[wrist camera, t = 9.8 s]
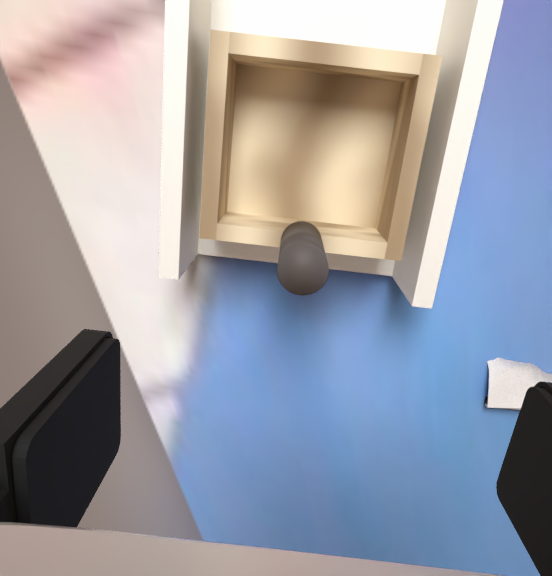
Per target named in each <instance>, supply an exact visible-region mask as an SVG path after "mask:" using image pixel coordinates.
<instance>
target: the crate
mask: <svg viewBox="0 0 552 576" xmlns="http://www.w3.org/2000/svg"><path fill="white" fill-rule="evenodd" d="M442 57H443V56H440V55H431V54H422V53H414V52H405V51H396V50H387V49H378V48H369V47H361V46H352V45H343V44H334V43H325V42H316V41H307V40H299V39H290V38H281V37H272V36H263V35H254V34H245V33H237V32H228V31H219V30H210V46H209V65H208V84H207V102H206V121H205V139H204V158H203V176H202V195H201V213H200V232H199V238H201V239H210V240H219V241H227V242H236V243H245V244H254V245H263V246H272V247H280V250H279V259H278V267H277V274H278V278H279V281H280V283H281V284H282V286H283V287H284V288H285V289H286V290H288V291H289V292H291V293H293V294H297V295H309V294H312V293H315V292H316V291H318V290H319V289H321V288H322V287H323V286H324V284H325V283H326V281H327V278H328V275H329V266H328V262H327V258H326V254H325V253H333V254H342V255H351V256H360V257H369V258H378V259H386V260H395V261H401V259H402V255H403V250H404V245H405V240H406V235H407V230H408V225H409V220H410V215H411V210H412V205H413V200H414V195H415V190H416V185H417V180H418V175H419V170H420V165H421V160H422V156H423V151H424V146H425V141H426V136H427V131H428V126H429V121H430V116H431V111H432V106H433V101H434V96H435V91H436V86H437V81H438V76H439V71H440V66H441V61H442Z"/></svg>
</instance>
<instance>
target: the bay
mask: <svg viewBox="0 0 552 576" xmlns="http://www.w3.org/2000/svg"><path fill="white" fill-rule="evenodd" d="M502 5H503V0H165V33H164V72H163V112H162V151H161V190H160V230H159V269H158V277H159V278H168V279H177V280H178V279H179V278H180V277H181V276H182V274H183V273H184V272H185V270H186V269H187V268H188V266H189V265H190V264H191V263H192V261H193V260H194V259H195V257H196V256H197V255H198V254H201V255H210V256H219V257H228V258H237V259H245V260H254V261H263V262H272V263H278V259H279V250H280V247H272V246H263V245H254V244H245V243H236V242H227V241H219V240H210V239H201V238H199V232H200V213H201V195H202V176H203V158H204V139H205V121H206V102H207V84H208V65H209V46H210V30H219V31H228V32H237V33H245V34H254V35H263V36H272V37H281V38H290V39H299V40H307V41H316V42H325V43H334V44H343V45H352V46H361V47H369V48H378V49H387V50H396V51H405V52H414V53H422V54H431V55H440V56H443V57H442V61H441V66H440V71H439V76H438V81H437V86H436V91H435V96H434V101H433V106H432V111H431V116H430V121H429V126H428V131H427V136H426V141H425V146H424V151H423V156H422V160H421V165H420V170H419V175H418V180H417V185H416V190H415V195H414V200H413V205H412V210H411V215H410V220H409V225H408V230H407V235H406V240H405V245H404V250H403V255H402V259H401V261H395V260H386V259H378V258H369V257H360V256H351V255H342V254H333V253H325V254H326V258H327V262H328V266H329V269H334V270H343V271H351V272H360V273H369V274H378V275H387V276H392V277H393V279H394V280H395V282H396V283H397V285H398V286H399V288H400V289H401V291H402V292H403V294H404V295H405V297H406V298H407V300H408V301H409V303H410V304H411V306H415V307H424V308H432V306H433V302H434V297H435V293H436V289H437V284H438V280H439V276H440V271H441V267H442V263H443V259H444V254H445V250H446V246H447V241H448V237H449V233H450V228H451V224H452V220H453V215H454V211H455V207H456V203H457V198H458V194H459V190H460V185H461V181H462V177H463V172H464V168H465V164H466V160H467V155H468V151H469V147H470V142H471V138H472V134H473V129H474V125H475V121H476V117H477V112H478V108H479V104H480V99H481V95H482V91H483V86H484V82H485V78H486V73H487V69H488V65H489V61H490V56H491V52H492V48H493V43H494V39H495V35H496V30H497V26H498V22H499V18H500V13H501V9H502Z"/></svg>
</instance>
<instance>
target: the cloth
mask: <svg viewBox="0 0 552 576" xmlns="http://www.w3.org/2000/svg"><path fill="white" fill-rule="evenodd" d="M487 363H488V368H489V386H488V396H487V397H486V399H485V402H484V405H485V406H486V407H488V408H505V409H512V410H519V411H520V410H521V406H522V403H523V400H524V397H525V394H526V392H527V390H528V389H529V388H530V387H534V386H535V385H536V384H537V383H538V382H540V381H542V382H551V383H552V374H549V373H545V372H543V371H542V370H541V369H539V368H538V367H536V366H535V365H533V364H530V363H522V362H516V361H511V360H505V359H502V358H499V357H498V358H496V359H495V360H491V361H487Z"/></svg>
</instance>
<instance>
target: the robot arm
mask: <svg viewBox="0 0 552 576" xmlns="http://www.w3.org/2000/svg"><path fill="white" fill-rule="evenodd" d="M120 426H121V425H120V342H119V340H118V339H113V337H112V334H111V333H110V332H106V331H97V330H89V329H88V330H87V329H84V330H82V331H81V332H80V333H79V334H78V335H77V336H76V337H75V338H74V339H73V340H72V341H71V342H70V343H69V344H68V345H67V346H66V347H65V348H63V349H62V350H61V351H60V352H59V353H58V354H57V355H56V356H55V357H54V358H53V359H52V360H51V361H50V362H49V363H48V364H47V365H46V366H45V367H43V368H42V369H41V370H40V371H39V372H38V373H37V374H36V375H35V376H34V377H33V378H32V379H31V380H30V381H29V382H28V383H27V384H26V385H25V386H24V387H23V388H21V389H20V390H19V391H18V392H17V393H16V394H15V395H14V396H13V397H12V398H11V399H10V400H9V401H8V402H7V403H6V404H5V405H4V406H3V407H2V408H0V576H503V575H495V574H486V573H478V572H469V571H461V570H452V569H444V568H435V567H427V566H418V565H410V564H401V563H393V562H384V561H375V560H366V559H358V558H349V557H340V556H331V555H322V554H314V553H305V552H296V551H288V550H279V549H270V548H262V547H253V546H244V545H235V544H226V543H217V542H208V541H199V540H190V539H181V538H172V537H163V536H154V535H144V534H135V533H126V532H117V531H108V530H99V529H90V528H77V526H78V524H79V522H80V520H81V518H82V516H83V515H84V513H85V511H86V509H87V507H88V506H89V503H90V502H91V500H92V498H93V497H94V495H95V493H96V491H97V489H98V487H99V486H100V484H101V482H102V480H103V478H104V476H105V474H106V473H107V471H108V469H109V467H110V465H111V463H112V462H113V460H114V458H115V456H116V454H117V452H118V449H119V445H120V435H121V433H120V432H121V427H120ZM496 488H497V495H498V498H499V500H500V502H501V504H502V506H503V507H504V509H505V511H506V513H507V515H508V517H509V518H510V520H511V522H512V524H513V526H514V528H515V529H516V531H517V533H518V535H519V537H520V539H521V540H522V542H523V544H524V546H525V548H526V550H527V551H528V553H529V555H530V557H531V559H532V561H533V562H534V564H535V566H536V568H537V570H538V572H539V573H540V575H541V576H552V383H551V382H542V381H540V382H538V383H537V384H536V385H535V386H534V387H530V388H529V389H528V390H527V392H526V394H525V397H524V400H523V403H522V406H521V410H520V413H519V416H518V419H517V422H516V425H515V428H514V431H513V434H512V437H511V440H510V443H509V446H508V449H507V452H506V455H505V458H504V461H503V464H502V467H501V471H500V474H499V477H498V480H497V486H496Z"/></svg>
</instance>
